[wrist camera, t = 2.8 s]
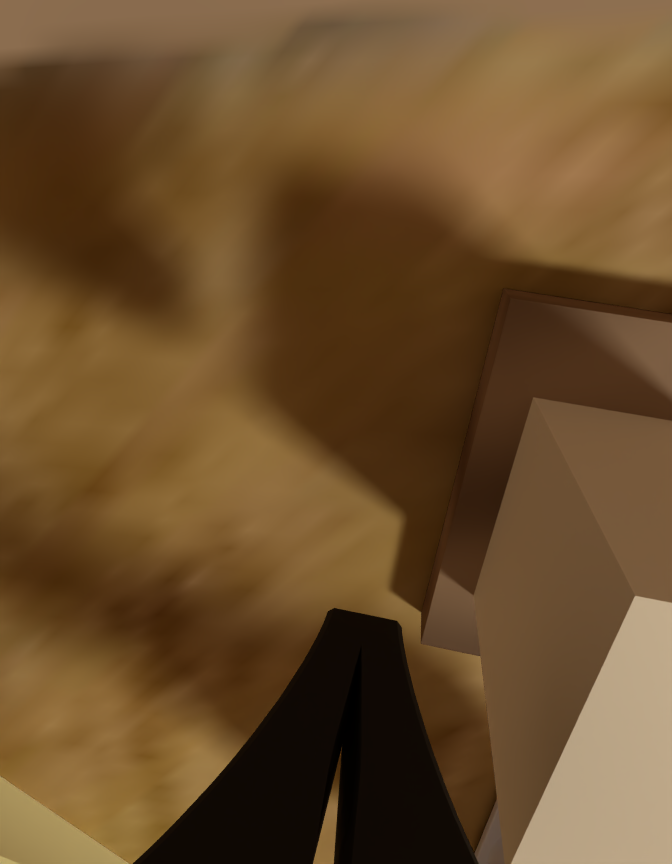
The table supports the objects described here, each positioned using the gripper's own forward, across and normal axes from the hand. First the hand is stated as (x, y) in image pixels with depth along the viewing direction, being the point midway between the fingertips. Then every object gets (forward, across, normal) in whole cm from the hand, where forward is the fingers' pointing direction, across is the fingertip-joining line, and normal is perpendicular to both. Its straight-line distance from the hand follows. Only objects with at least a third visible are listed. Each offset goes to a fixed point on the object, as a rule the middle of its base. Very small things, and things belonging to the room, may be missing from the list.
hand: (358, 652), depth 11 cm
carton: (+7, -6, 0) cm, 9 cm away
